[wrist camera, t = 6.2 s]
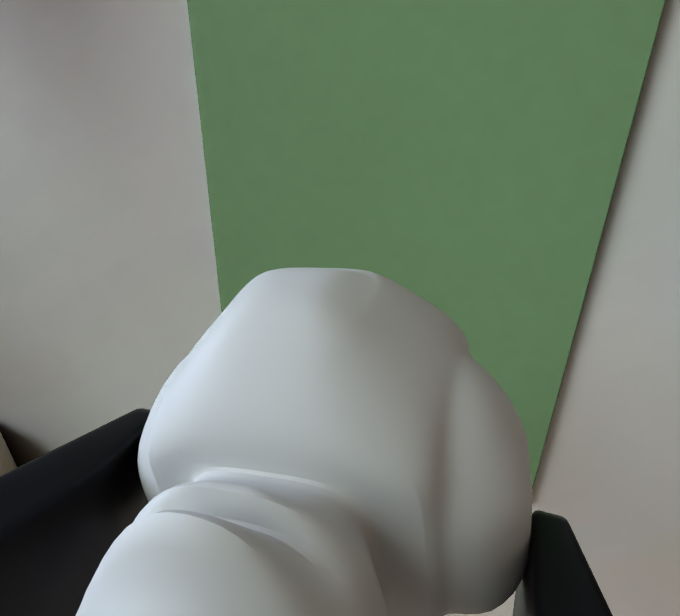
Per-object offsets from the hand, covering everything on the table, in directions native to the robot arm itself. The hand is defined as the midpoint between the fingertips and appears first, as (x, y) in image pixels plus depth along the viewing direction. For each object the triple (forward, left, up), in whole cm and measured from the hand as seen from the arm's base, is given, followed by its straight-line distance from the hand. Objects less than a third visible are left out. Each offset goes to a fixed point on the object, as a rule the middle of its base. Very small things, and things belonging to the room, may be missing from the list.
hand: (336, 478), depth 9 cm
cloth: (-1, +2, -11) cm, 11 cm away
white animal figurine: (0, 0, -2) cm, 2 cm away
